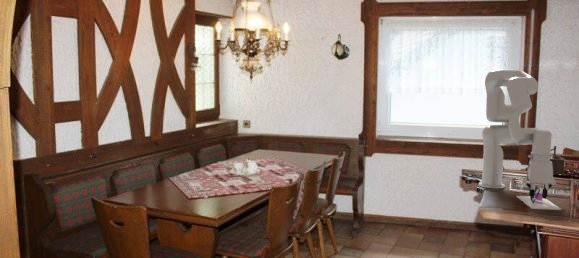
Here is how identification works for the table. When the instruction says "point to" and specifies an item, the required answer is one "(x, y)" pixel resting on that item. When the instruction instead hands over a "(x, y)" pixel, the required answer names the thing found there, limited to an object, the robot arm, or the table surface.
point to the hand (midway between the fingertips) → (538, 197)
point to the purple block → (537, 194)
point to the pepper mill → (557, 163)
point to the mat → (538, 203)
